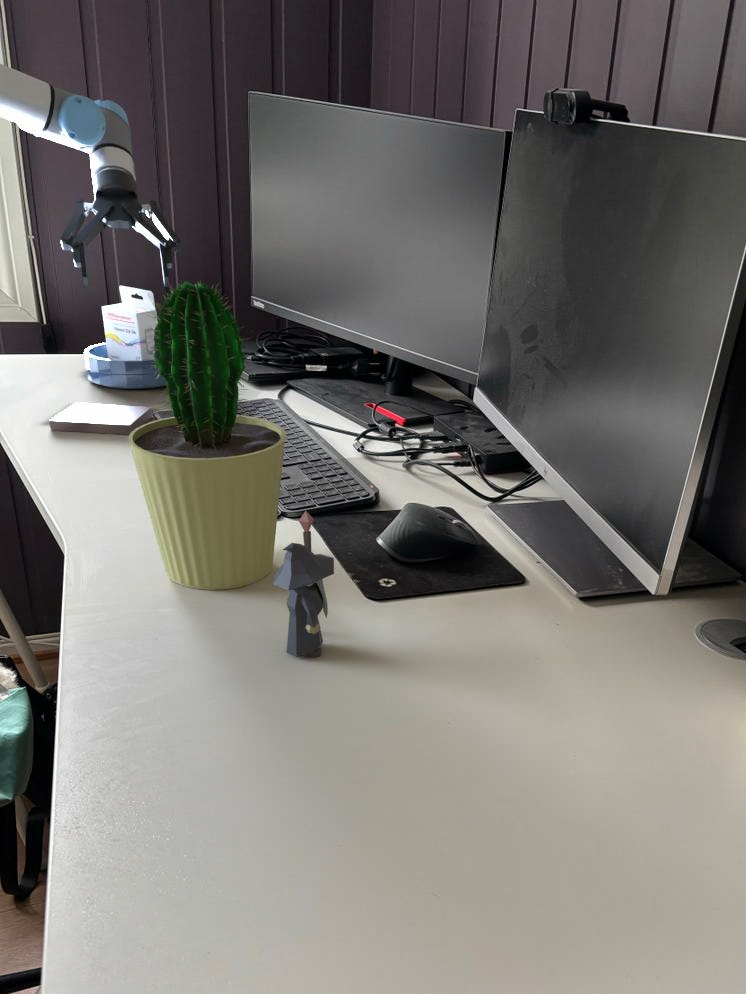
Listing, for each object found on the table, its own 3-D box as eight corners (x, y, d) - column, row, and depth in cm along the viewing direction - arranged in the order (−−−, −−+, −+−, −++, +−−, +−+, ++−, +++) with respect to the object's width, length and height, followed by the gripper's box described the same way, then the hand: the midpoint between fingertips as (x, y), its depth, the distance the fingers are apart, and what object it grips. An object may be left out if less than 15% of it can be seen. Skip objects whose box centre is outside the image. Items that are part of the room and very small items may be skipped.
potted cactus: (321, 569, 105) (312, 280, 90) (201, 613, 94) (169, 295, 80) (236, 528, 113) (215, 259, 99) (117, 565, 103) (74, 270, 88)
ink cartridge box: (108, 374, 170) (96, 287, 163) (129, 369, 174) (119, 284, 167) (144, 382, 167) (133, 294, 159) (165, 377, 170) (155, 290, 163)
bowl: (73, 387, 163) (69, 358, 161) (108, 365, 177) (104, 338, 175) (168, 393, 163) (165, 363, 161) (195, 371, 177) (193, 343, 175)
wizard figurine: (345, 660, 88) (343, 540, 82) (285, 671, 86) (279, 548, 80) (318, 621, 94) (314, 506, 88) (262, 630, 92) (254, 513, 86)
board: (50, 430, 142) (48, 420, 142) (77, 412, 151) (75, 402, 150) (131, 435, 142) (129, 425, 142) (152, 416, 151) (151, 407, 150)
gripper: (185, 198, 182) (199, 294, 177) (44, 194, 175) (53, 294, 170) (185, 169, 175) (198, 268, 170) (37, 163, 168) (47, 267, 163)
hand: (126, 282), depth 170 cm, fingers open, 13 cm apart
